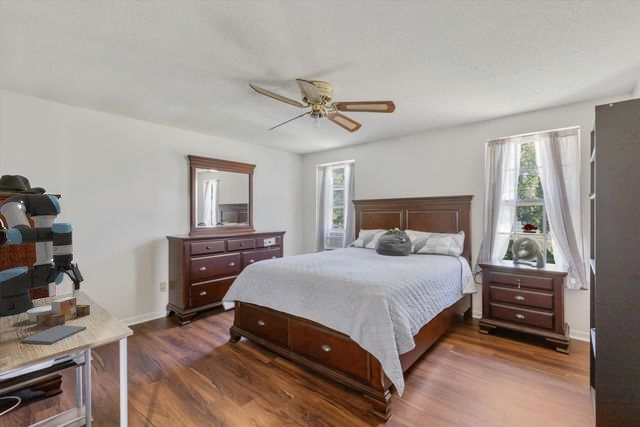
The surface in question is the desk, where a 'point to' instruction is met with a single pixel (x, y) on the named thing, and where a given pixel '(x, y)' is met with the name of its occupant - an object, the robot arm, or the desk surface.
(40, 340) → the slate grey mat
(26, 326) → the desk surface
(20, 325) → the desk surface
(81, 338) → the desk surface
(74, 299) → the small box
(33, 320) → the ramekin
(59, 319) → the walnut crossbar stand
